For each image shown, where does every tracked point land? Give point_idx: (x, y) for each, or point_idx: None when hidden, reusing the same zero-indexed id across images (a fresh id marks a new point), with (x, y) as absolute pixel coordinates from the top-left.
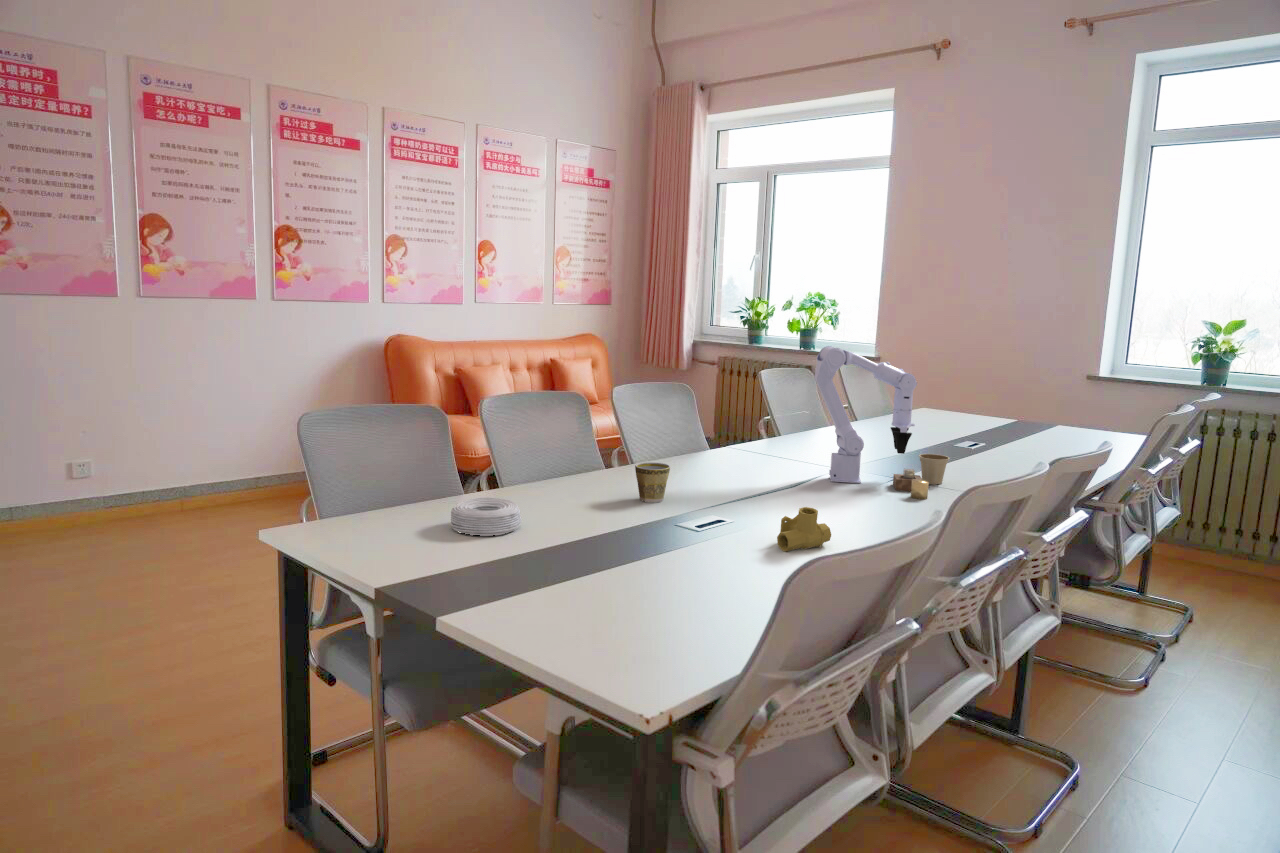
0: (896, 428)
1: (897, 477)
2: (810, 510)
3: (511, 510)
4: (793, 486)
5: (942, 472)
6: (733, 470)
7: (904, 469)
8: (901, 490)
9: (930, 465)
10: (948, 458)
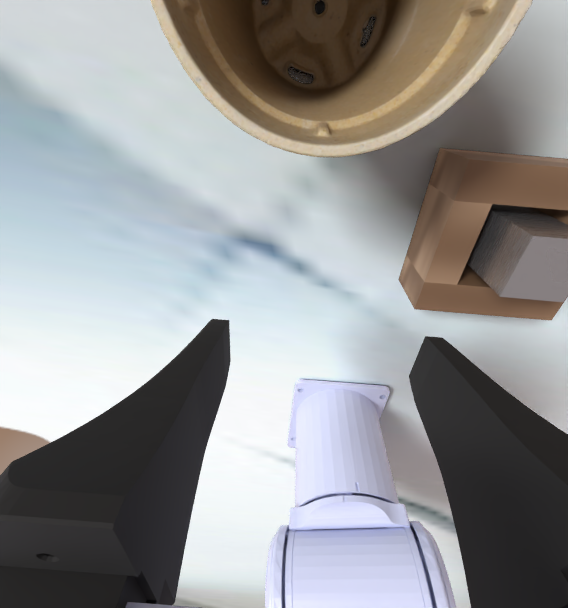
0: (160, 591)
1: (509, 307)
2: None
3: None
4: (424, 508)
5: None
6: (265, 559)
7: (534, 298)
8: None
9: (447, 38)
10: None
